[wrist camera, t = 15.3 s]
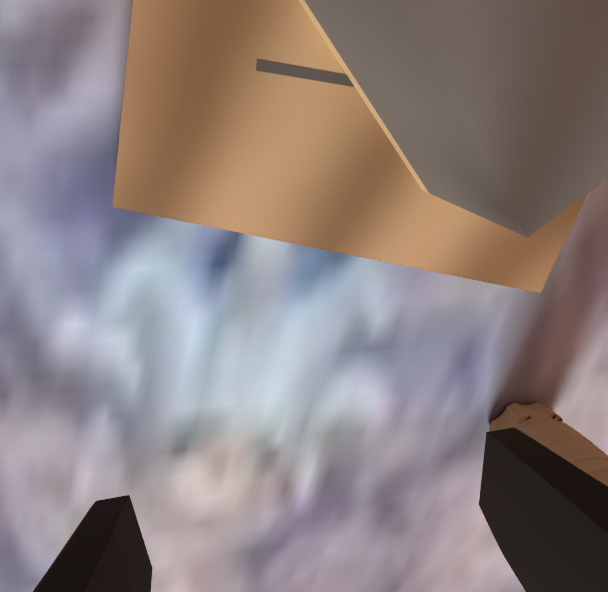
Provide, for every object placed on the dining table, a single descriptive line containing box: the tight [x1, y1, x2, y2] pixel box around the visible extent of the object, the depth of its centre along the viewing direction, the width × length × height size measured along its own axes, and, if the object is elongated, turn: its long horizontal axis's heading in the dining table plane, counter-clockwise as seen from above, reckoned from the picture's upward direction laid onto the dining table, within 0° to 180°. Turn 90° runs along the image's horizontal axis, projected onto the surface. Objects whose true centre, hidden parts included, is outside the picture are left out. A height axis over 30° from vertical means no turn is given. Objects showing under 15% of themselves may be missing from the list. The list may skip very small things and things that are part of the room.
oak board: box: [112, 0, 587, 293], centre depth 15 cm, size 16×12×1 cm
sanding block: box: [298, 0, 608, 237], centre depth 11 cm, size 8×5×6 cm, turn 38°
